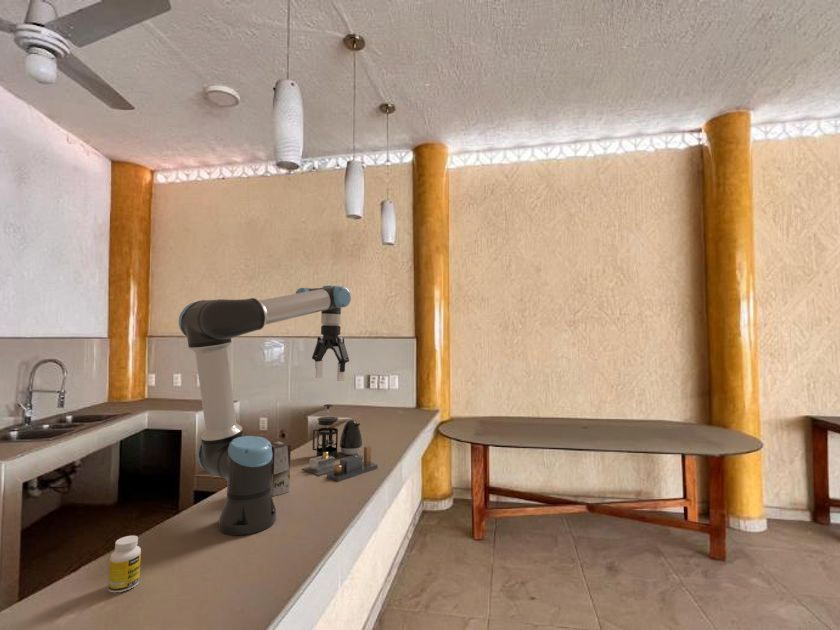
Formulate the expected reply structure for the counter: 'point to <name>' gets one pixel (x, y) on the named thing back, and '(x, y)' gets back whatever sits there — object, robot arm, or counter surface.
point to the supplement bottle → (124, 564)
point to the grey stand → (352, 466)
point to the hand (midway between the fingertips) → (329, 379)
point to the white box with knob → (322, 462)
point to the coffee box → (280, 467)
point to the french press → (331, 450)
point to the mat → (318, 472)
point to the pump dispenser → (351, 438)
